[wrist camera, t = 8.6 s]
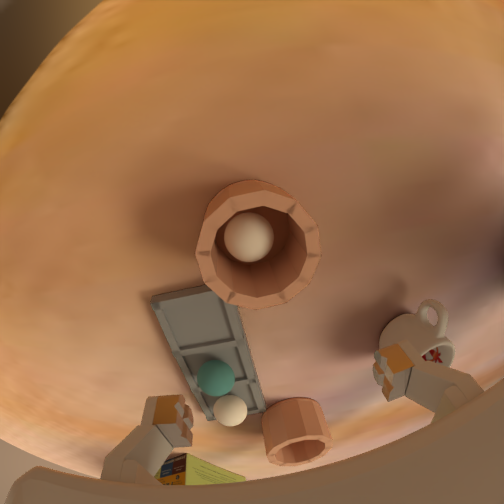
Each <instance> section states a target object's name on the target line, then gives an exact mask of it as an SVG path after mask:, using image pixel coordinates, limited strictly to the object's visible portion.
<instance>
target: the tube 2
mask: <svg viewBox="0 0 504 504" xmlns="http://www.w3.org/2000/svg"><path fill="white" fill-rule="evenodd" d="M261 423H262V429H263V436H264V442H265V448H266V455H267V458H268V460H269V462H270V463H273V464H275V465H278V466H297V465H301V464H306V463H310V462H312V461H314V460H316V459H318V458H320V457H322V456H324V455H325V454H326V453H327V452H328V451H329V450H330V449H331V448H332V437H331V434H330V431H329V429H328V426H327V423H326V420H325V417H324V414H323V411H322V409H321V407H320V405H319V403H318V402H316V401H315V400H313V399H310V398H304V397H298V398H290V399H286V400H283V401H280V402H277V403H275V404H273V405H272V406H270V407H269V408H268V409H267V410H266V412H264V413H263V415H262V421H261Z"/></svg>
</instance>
